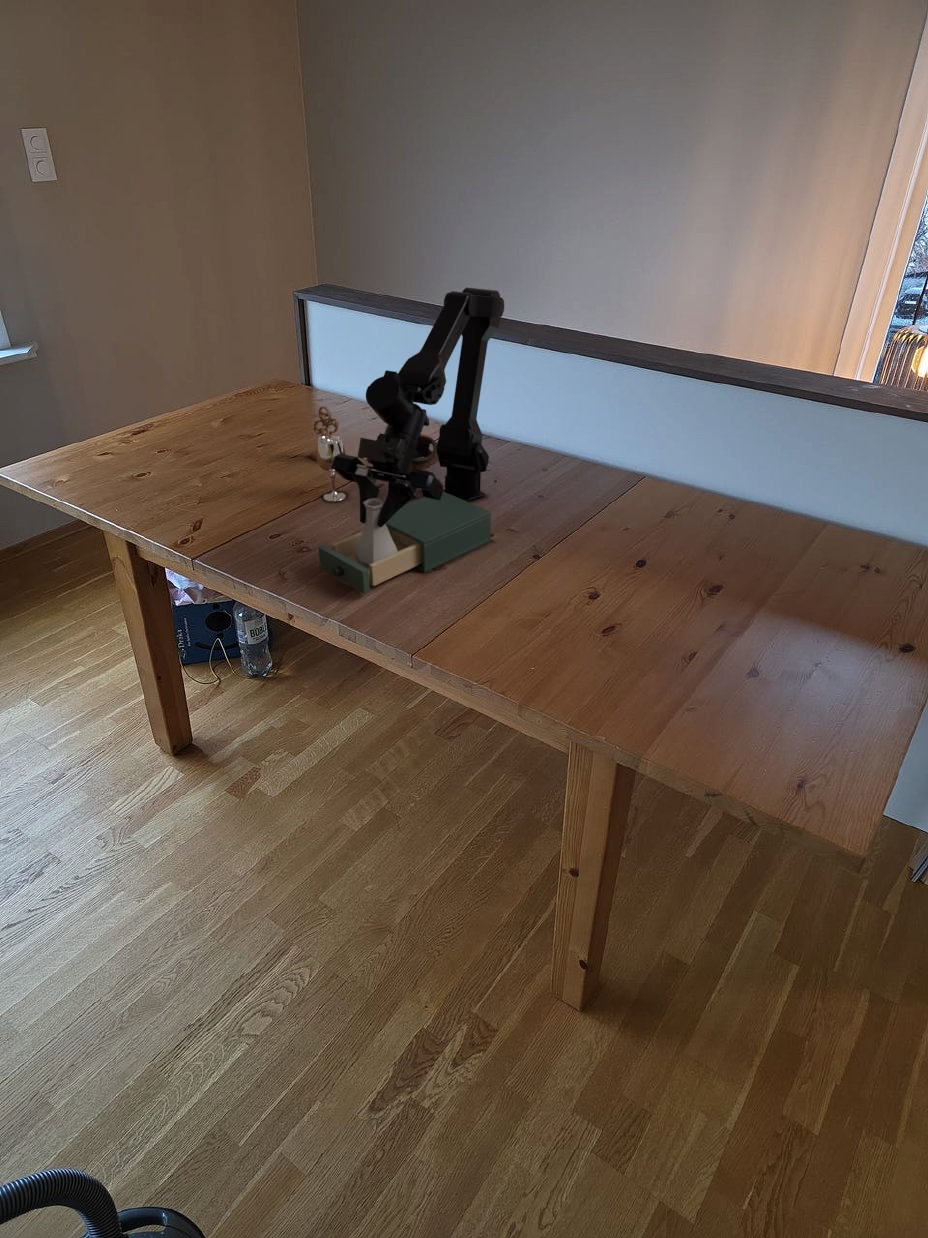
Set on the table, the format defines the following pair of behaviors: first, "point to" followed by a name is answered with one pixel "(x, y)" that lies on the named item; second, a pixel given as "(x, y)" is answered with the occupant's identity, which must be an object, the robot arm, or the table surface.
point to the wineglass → (330, 461)
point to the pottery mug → (424, 454)
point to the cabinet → (442, 528)
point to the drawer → (361, 574)
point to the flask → (374, 535)
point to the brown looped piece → (324, 423)
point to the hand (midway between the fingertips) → (370, 524)
